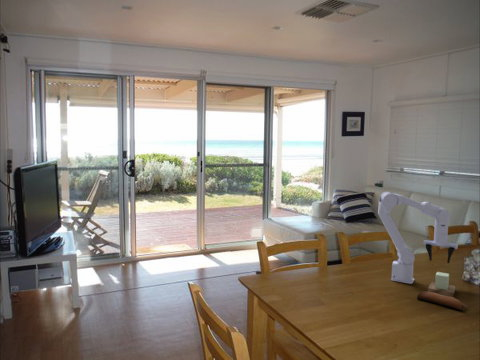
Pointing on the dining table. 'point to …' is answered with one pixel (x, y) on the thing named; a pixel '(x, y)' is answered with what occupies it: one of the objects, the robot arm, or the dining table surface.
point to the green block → (442, 280)
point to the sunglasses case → (441, 300)
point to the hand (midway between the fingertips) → (439, 261)
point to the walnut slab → (442, 290)
